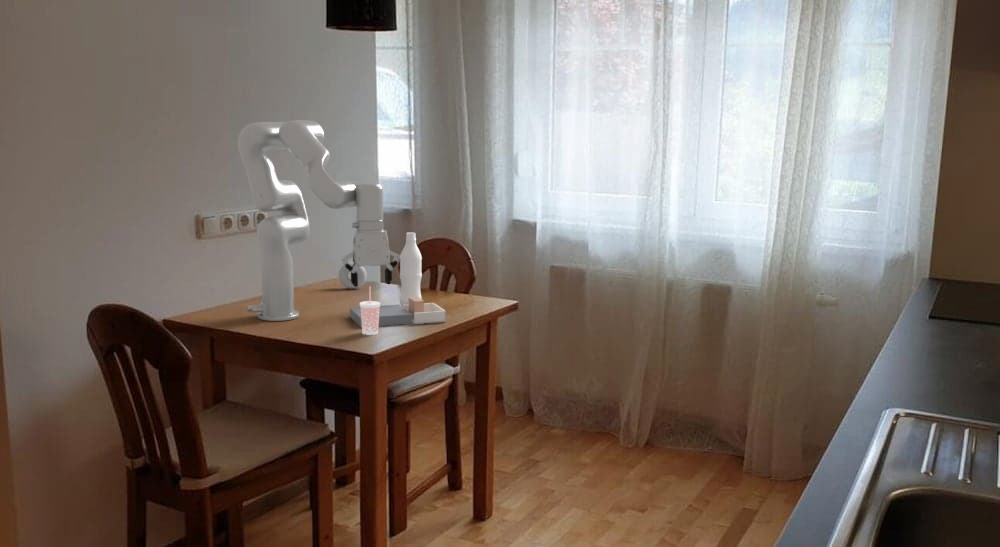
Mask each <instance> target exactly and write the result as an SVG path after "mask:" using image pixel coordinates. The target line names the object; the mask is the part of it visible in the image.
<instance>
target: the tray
mask: <svg viewBox="0 0 1000 547" xmlns="http://www.w3.org/2000/svg"><path fill="white" fill-rule="evenodd" d="M403 308H405V309H406V310H407V311H409V305H403ZM424 323H428V324H438V323H447V311H446V310H445V309H444V308H442V307H441V306H439V305H438V304H436V303H435V302H428V303H425V302H424V312H420V313H414V320H413V319H412V324H413V325H425V324H424Z"/></svg>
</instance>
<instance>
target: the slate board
mask: <svg viewBox="0 0 1000 547" xmlns="http://www.w3.org/2000/svg"><path fill="white" fill-rule="evenodd" d="M349 318H350V319H351V318H352V319H351V320H352V321H353V322H355V324H357V325H358V326H359V328H361V329H362V320H361V307H360V306H358V307H355V306H354V307H349ZM399 324H402V325H412V324H413V323H412V314H411V313H410V312H409V311H407V310H406V309H405V308H403V307H402V306H401V304H390V305H389V304H388V305H380V308H379V325H378V327H385V326H386V325H389V326H400V325H399ZM386 327H387V326H386Z"/></svg>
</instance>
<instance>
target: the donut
mask: <svg viewBox="0 0 1000 547" xmlns="http://www.w3.org/2000/svg"><path fill="white" fill-rule="evenodd" d="M348 263H349V265H350V266H352V265H353V264H354V263H353V261H349V262H348ZM365 268H366V267H359V268H358V269H357V271H356V273H357V275H358V286H357V287H355V286H353V284H352V283H351V278H350V277H349V273H351V272H350V271H349V270H348V269H347V268H346V267H345V266H344V264H343V265H342V266H341V267H340V269H339V270H338V279H339V281H340V284H341V285H342V286H344V287H345V288H347V289H349V290H351V289H352V290H357V289H359V288H360V287H362V286H363V285H364V284H365V283H366V281H367V277H368V274H367V271H366V269H365Z"/></svg>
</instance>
